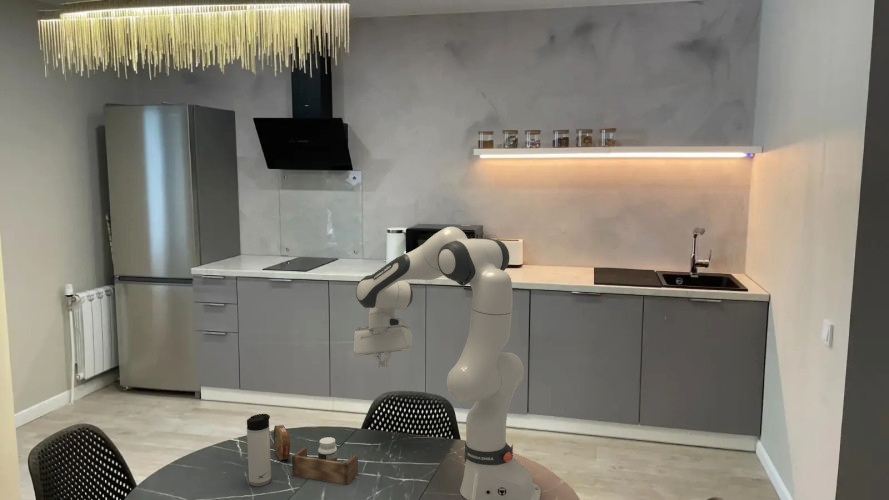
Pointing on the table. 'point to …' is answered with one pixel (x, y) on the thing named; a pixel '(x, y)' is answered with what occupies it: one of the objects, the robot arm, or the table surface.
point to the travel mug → (259, 450)
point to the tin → (281, 442)
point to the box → (324, 468)
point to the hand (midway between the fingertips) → (383, 366)
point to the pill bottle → (327, 449)
